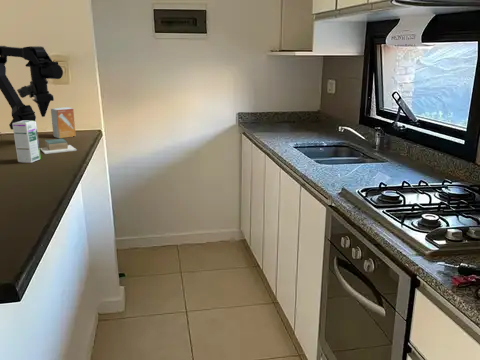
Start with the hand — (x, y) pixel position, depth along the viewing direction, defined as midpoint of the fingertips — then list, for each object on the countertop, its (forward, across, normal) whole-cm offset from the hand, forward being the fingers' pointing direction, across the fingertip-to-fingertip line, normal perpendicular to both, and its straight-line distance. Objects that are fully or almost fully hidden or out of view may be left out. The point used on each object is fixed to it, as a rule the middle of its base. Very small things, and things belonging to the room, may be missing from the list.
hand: (43, 116), depth 192 cm
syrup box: (+12, +26, -11) cm, 31 cm away
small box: (+12, -15, +11) cm, 22 cm away
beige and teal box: (+10, +6, +2) cm, 12 cm away
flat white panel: (+12, +13, +2) cm, 18 cm away
